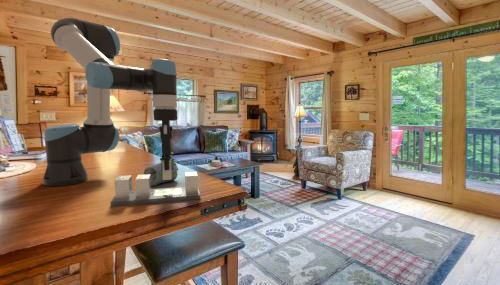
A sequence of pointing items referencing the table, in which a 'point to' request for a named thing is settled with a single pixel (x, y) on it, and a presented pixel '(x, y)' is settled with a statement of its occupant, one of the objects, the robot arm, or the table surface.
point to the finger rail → (153, 191)
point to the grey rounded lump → (157, 175)
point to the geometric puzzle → (173, 167)
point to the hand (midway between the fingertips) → (167, 176)
